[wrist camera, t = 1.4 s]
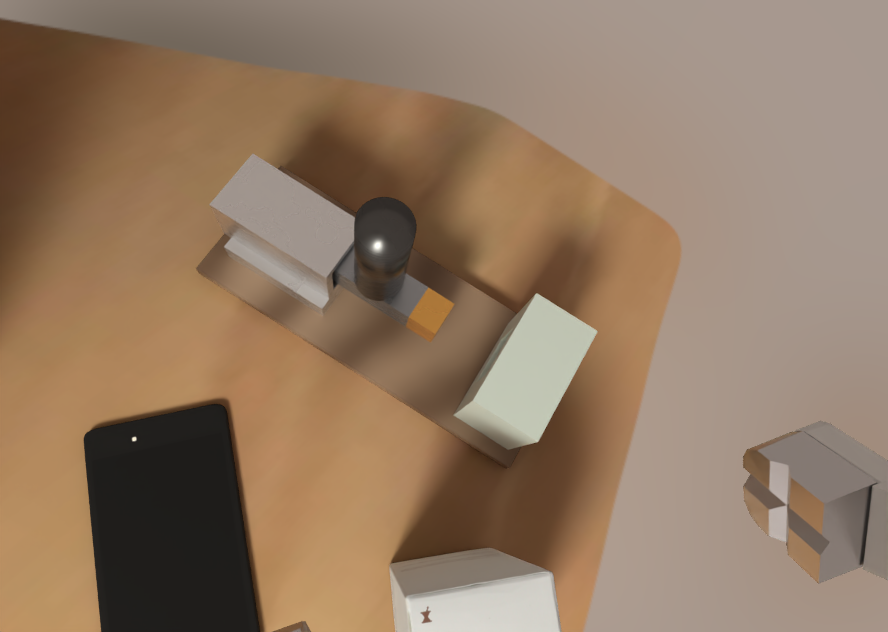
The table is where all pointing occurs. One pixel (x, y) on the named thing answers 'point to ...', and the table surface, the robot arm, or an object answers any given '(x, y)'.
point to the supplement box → (473, 594)
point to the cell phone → (169, 525)
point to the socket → (526, 374)
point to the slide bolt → (390, 268)
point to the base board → (389, 336)
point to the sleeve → (284, 232)
